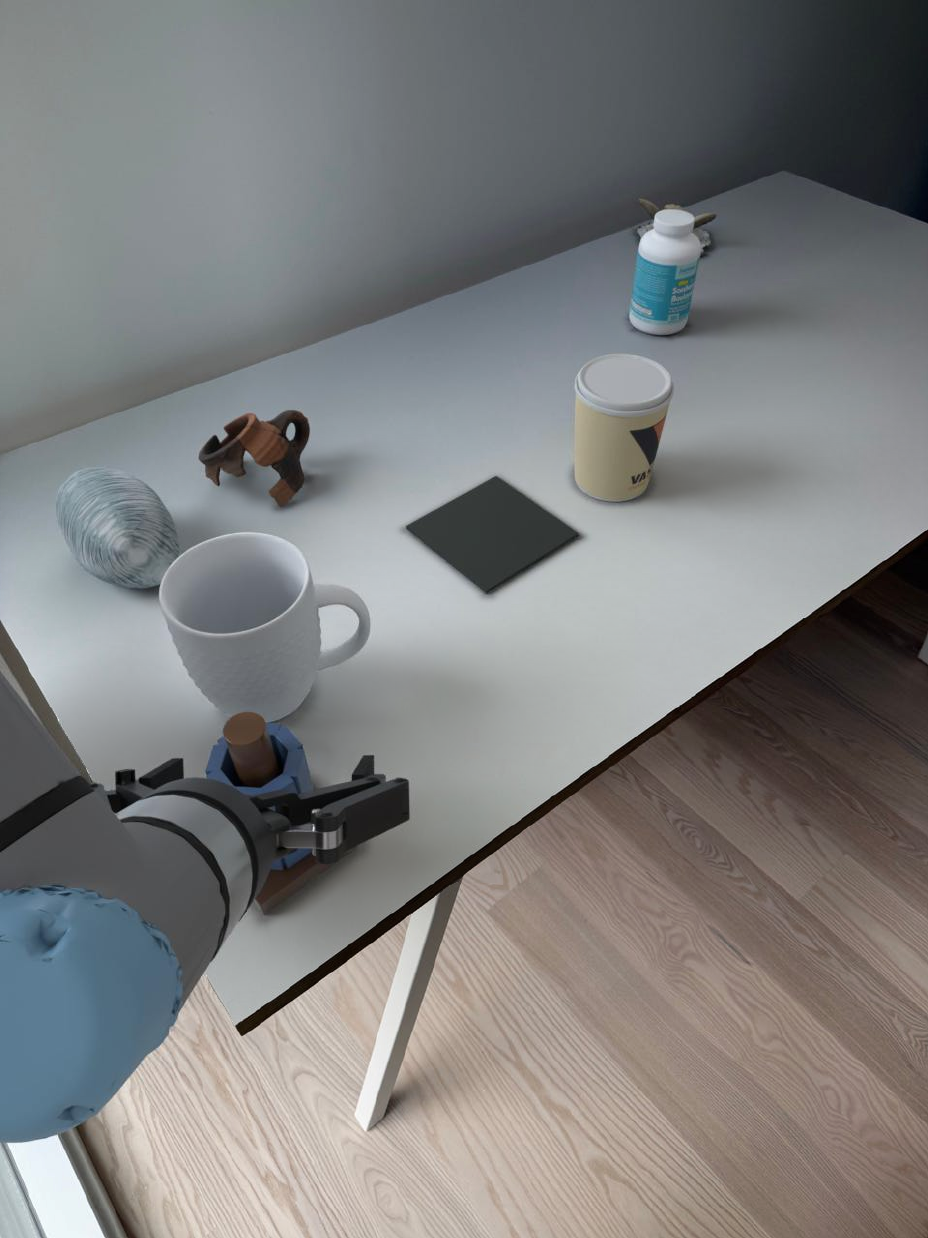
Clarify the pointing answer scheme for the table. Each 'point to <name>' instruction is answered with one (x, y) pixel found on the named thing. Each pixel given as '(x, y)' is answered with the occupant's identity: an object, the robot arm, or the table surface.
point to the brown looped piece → (260, 450)
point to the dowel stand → (257, 770)
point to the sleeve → (290, 780)
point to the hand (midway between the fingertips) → (273, 775)
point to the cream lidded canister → (619, 424)
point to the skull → (699, 220)
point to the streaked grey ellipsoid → (117, 527)
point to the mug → (253, 622)
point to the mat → (491, 533)
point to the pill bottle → (665, 274)
